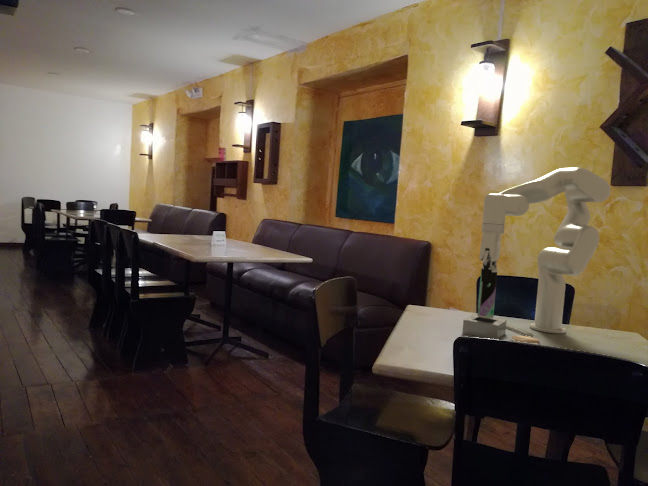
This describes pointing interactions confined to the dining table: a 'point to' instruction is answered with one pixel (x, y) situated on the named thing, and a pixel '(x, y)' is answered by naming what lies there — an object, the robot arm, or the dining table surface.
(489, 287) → the spray can
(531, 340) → the coaster
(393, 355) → the dining table surface
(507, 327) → the adjustable wrench
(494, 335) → the block
